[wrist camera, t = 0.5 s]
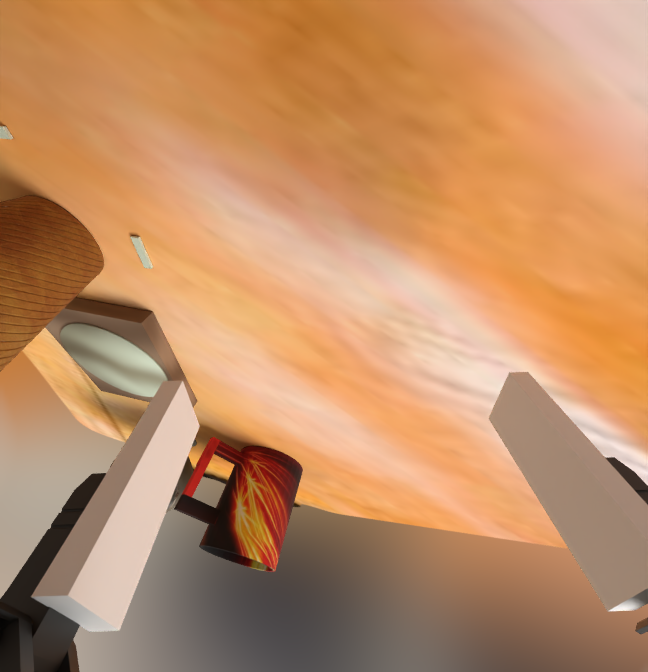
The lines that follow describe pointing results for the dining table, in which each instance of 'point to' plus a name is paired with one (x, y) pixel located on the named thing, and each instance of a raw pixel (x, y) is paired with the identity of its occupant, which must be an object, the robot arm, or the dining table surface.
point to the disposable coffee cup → (39, 268)
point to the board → (118, 348)
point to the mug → (246, 504)
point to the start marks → (5, 134)
